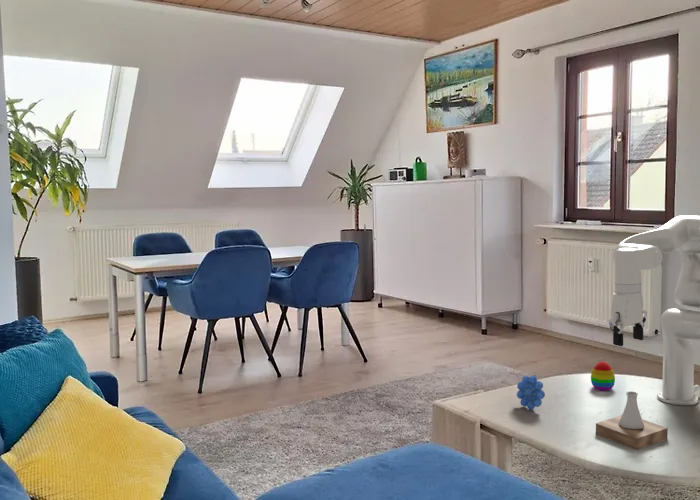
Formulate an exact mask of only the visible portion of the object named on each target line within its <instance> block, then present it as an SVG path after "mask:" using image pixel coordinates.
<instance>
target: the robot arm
mask: <svg viewBox="0 0 700 500" xmlns="http://www.w3.org/2000/svg"><path fill="white" fill-rule="evenodd" d="M676 249H678V252H679V255H680V259H681V270H680V274H679V277H678V280H677V283H676V287H675V290H674V295H673V298H674V299H673V301H674V302H675V303H676V304H677V305H678V306H680V307H683V308H677V307H675V308H674V307H673V308H667V309H666V310H664V311H663V313H662V314H661V317H660V328H661V333H662V341H663V342H662V343H663V344H662V345H663V346H662V348H663V350H662V351H663V352H662V390H661V391H658V393H657V395H656V397H657V399H658V400H659V401H661V402H663V403H667V404H670V405H674V406H675V405H677V406H695V405H696V404H698V403H699V398H698V396H696V395H695V392H696V391H697V392H698V391H700V385H699V384H695V383H694V375H695V347H694V346H693V343H692V341H691V340H693V341H699V342H700V311H698V310H700V215H689V214H688V215H678V216H675V217H673V218H671V219H670V220H669V221H667V222H666V223H664V224H663V225H661V226H660V227H658V228H657V229H653V230H649V231H646V232H642V233H638V234H634V235H632V236H629V237H627V238H625V239H624V240H621V242H619V243H618V244H617V245H616V247H615V248H614V249H613V250H614V251H613V254H612V258H613V261H614V292H613V296H612V301H611V312H610V313H611V315H610V318H609V320H608V325H609V329H610V330H611V333H612V342H613V343H612V344H613V345H614V346H619V347H623V346H624V333H623V331H624V329H625V327H629V326H632V334H633V335H632V338H633V339H635V340H638V341H643V340H644V327H645V322H646V320H647V316H648V311H647V310H645V309H644V300H643V299H644V298H643V294H642V271H643V270H645V271H646V270H654V269H656V268H658V267H659V266H660V265H661V264H662V262H663V257H664V256H663V254H667V253H668V254H669V253H672V252H673V251H675V250H676ZM685 308H688V309H685ZM689 308H690V309H689ZM692 309H697V311H696V310H692ZM694 384H695V385H694Z"/></svg>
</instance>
